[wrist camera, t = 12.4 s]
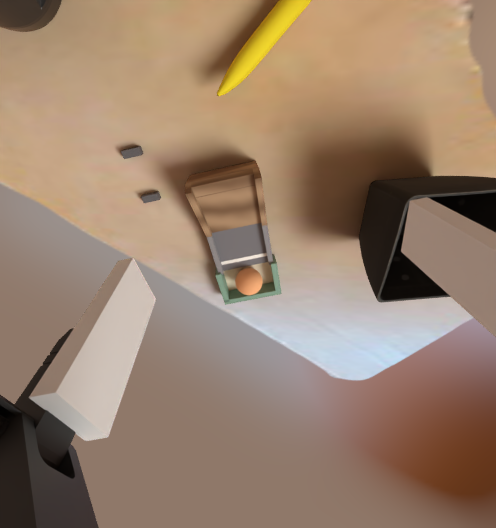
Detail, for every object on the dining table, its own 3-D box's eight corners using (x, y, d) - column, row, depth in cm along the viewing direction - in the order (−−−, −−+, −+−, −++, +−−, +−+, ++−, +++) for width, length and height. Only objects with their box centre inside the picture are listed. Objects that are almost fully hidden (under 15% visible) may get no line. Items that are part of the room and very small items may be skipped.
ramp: (189, 173, 45) (182, 187, 39) (255, 159, 45) (260, 170, 38) (208, 232, 52) (205, 253, 45) (265, 221, 51) (271, 240, 45)
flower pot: (340, 253, 57) (377, 305, 43) (354, 166, 47) (409, 197, 33) (423, 245, 57) (485, 294, 44) (455, 157, 47) (552, 184, 33)
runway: (206, 228, 51) (205, 234, 49) (264, 216, 51) (266, 222, 48) (219, 267, 57) (219, 275, 55) (271, 257, 56) (273, 264, 54)
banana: (211, 87, 38) (208, 85, 33) (312, -41, 32) (328, -67, 27) (225, 103, 40) (224, 104, 34) (324, -16, 33) (343, -37, 28)
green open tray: (216, 266, 57) (215, 275, 54) (274, 254, 56) (276, 263, 53) (225, 294, 61) (225, 304, 59) (278, 284, 61) (281, 293, 58)
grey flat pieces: (123, 150, 42) (120, 151, 41) (140, 146, 42) (138, 147, 41) (145, 200, 47) (143, 203, 46) (161, 197, 47) (159, 199, 46)
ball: (231, 270, 53) (236, 298, 53) (259, 264, 53) (265, 293, 52) (234, 271, 59) (239, 296, 59) (259, 265, 59) (265, 291, 58)
